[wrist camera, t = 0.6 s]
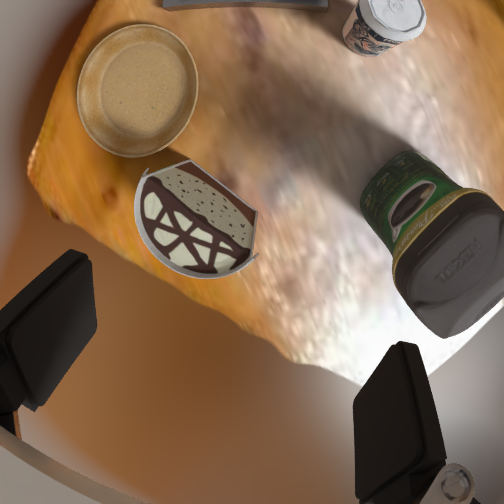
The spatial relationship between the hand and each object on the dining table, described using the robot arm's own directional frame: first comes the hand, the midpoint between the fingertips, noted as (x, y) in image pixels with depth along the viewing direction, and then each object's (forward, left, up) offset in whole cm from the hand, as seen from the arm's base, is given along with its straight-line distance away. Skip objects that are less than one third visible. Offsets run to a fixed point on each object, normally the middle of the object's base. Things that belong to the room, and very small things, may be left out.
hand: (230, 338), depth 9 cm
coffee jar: (-13, +2, -27) cm, 30 cm away
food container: (+8, +6, -27) cm, 28 cm away
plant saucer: (+16, -7, -27) cm, 32 cm away
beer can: (-7, -14, -27) cm, 31 cm away
